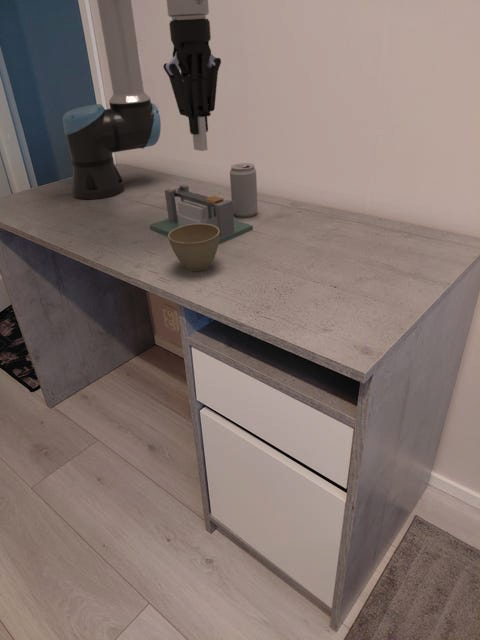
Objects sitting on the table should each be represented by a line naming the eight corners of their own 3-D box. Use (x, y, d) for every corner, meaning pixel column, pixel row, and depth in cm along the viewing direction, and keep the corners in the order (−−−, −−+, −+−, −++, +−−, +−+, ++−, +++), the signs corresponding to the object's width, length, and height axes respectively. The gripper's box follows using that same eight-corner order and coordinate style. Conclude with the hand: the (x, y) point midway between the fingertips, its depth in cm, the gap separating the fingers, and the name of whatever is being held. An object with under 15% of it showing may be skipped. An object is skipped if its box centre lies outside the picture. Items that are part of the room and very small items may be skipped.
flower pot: (196, 251, 101) (193, 219, 98) (232, 262, 96) (230, 229, 92) (162, 269, 95) (157, 235, 91) (198, 281, 89) (194, 246, 86)
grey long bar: (171, 196, 113) (170, 188, 112) (179, 193, 114) (178, 186, 114) (215, 209, 103) (214, 201, 102) (224, 206, 105) (223, 198, 104)
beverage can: (247, 220, 116) (245, 170, 109) (227, 215, 119) (223, 167, 113) (262, 212, 120) (261, 163, 114) (242, 208, 123) (240, 161, 117)
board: (150, 229, 114) (144, 194, 110) (197, 211, 123) (194, 179, 118) (204, 250, 102) (200, 212, 97) (252, 229, 110) (251, 193, 106)
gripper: (173, 19, 82) (188, 158, 95) (228, 15, 89) (235, 145, 102) (148, 20, 86) (165, 153, 99) (202, 17, 94) (211, 141, 107)
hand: (200, 149), depth 101 cm, fingers closed
